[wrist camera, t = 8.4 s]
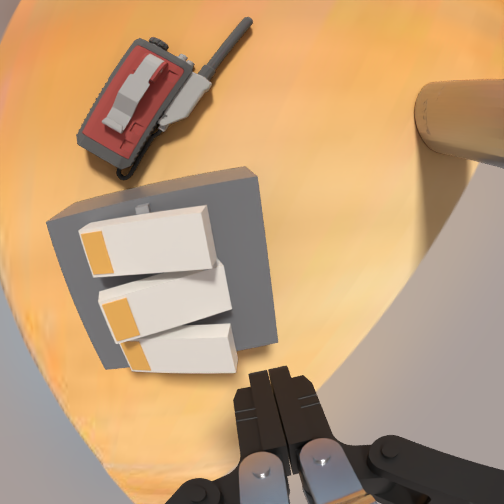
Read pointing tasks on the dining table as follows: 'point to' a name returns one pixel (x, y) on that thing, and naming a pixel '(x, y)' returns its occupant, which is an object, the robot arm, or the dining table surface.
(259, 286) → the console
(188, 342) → the rocker
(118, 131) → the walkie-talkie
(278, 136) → the dining table surface
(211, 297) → the rocker
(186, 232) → the white rectangular block
